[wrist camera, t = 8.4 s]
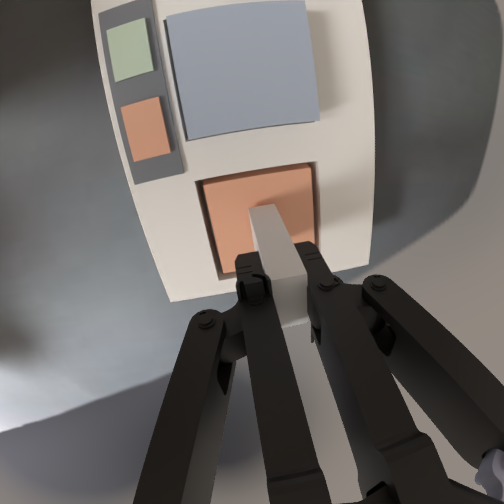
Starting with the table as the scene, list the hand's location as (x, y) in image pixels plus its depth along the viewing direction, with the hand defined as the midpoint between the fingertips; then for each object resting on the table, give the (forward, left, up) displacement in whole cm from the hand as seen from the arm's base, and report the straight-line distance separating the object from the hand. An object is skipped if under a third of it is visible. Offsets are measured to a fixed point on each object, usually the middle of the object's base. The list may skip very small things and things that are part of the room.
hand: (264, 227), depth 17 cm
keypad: (0, +9, -5) cm, 10 cm away
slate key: (0, +9, -1) cm, 9 cm away
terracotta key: (0, 0, -3) cm, 3 cm away
